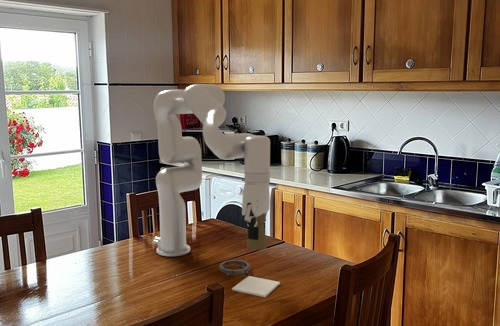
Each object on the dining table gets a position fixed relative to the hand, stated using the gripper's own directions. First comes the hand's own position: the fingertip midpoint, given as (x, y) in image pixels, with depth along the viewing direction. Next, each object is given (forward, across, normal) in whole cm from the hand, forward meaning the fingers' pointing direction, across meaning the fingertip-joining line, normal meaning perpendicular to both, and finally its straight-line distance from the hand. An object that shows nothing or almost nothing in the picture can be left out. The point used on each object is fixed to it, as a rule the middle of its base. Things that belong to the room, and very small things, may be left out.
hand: (256, 236), depth 144 cm
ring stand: (+16, -8, -12) cm, 22 cm away
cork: (+3, 0, 0) cm, 3 cm away
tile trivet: (+16, 0, 0) cm, 16 cm away
